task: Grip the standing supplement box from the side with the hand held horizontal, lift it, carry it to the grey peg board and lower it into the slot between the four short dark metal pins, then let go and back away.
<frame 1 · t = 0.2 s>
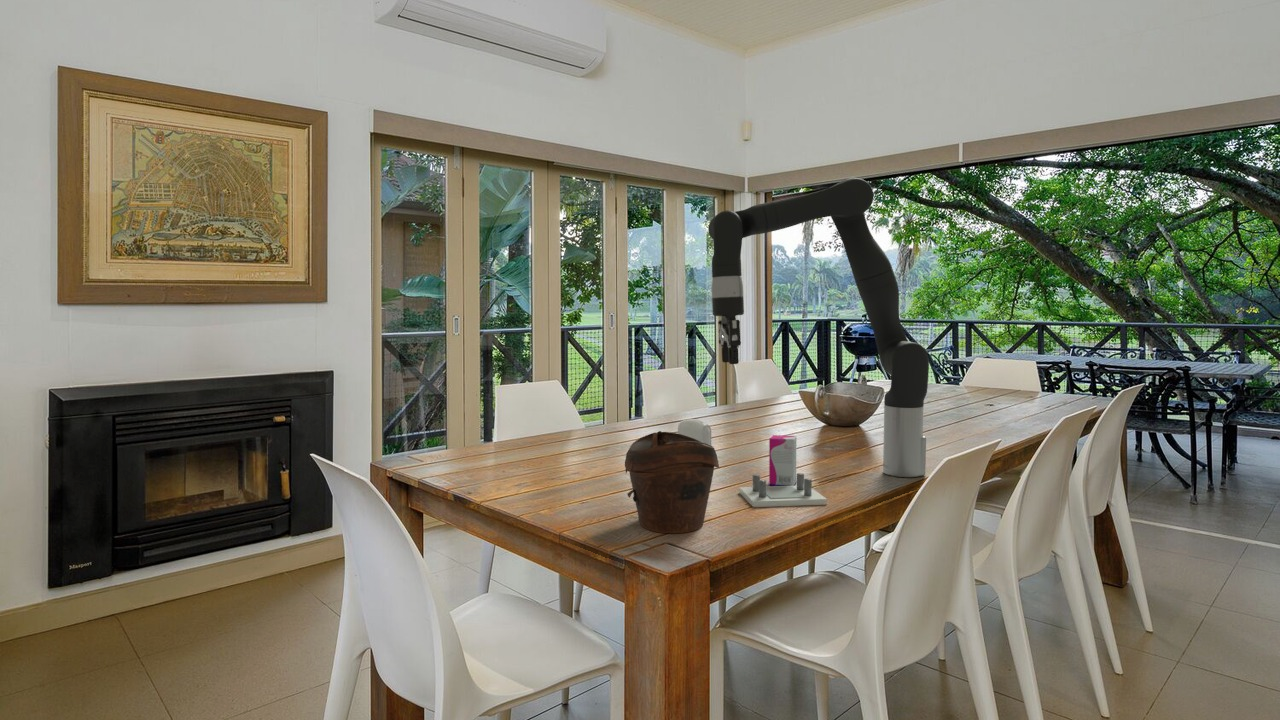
hand: (730, 363, 175), 28 cm above the table, tool pointing down, fingers open, 8 cm apart
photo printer: (694, 466, 192), on the table
supplement box: (782, 485, 171), on the table
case: (670, 524, 141), on the table
grey peg board: (781, 498, 159), on the table
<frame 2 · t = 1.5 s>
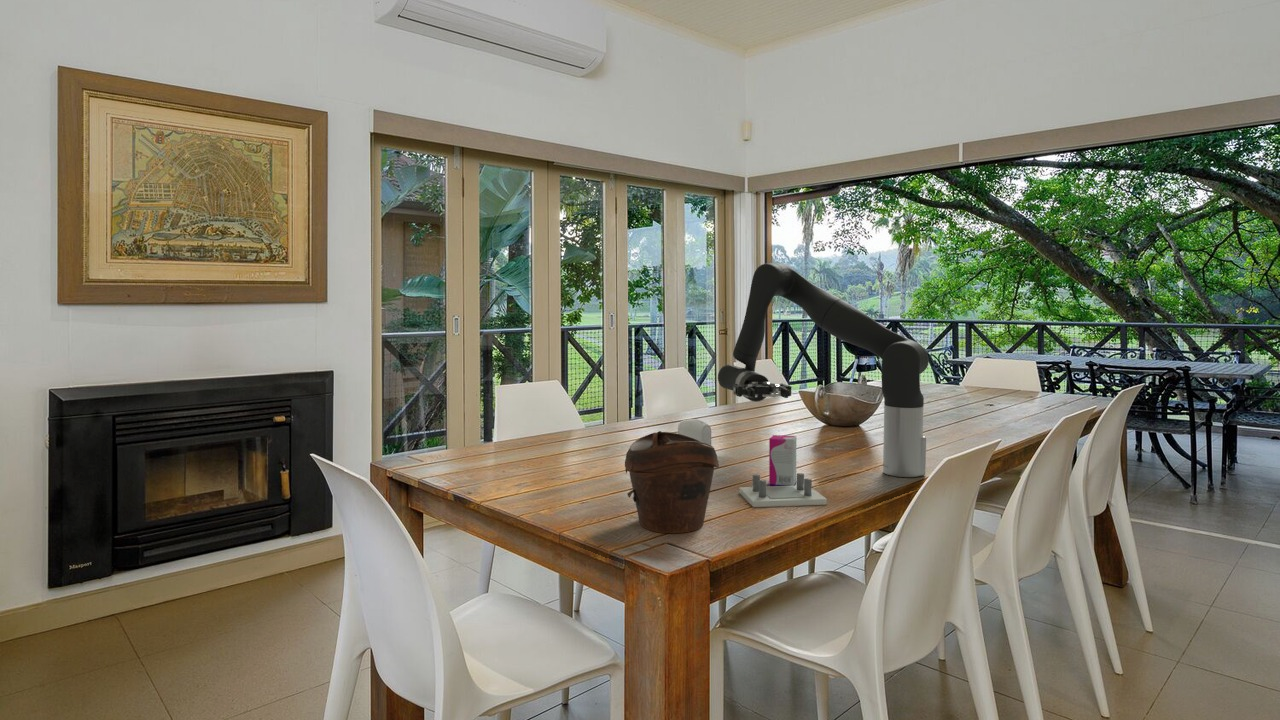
hand: (770, 394, 180), 20 cm above the table, tool horizontal, fingers open, 8 cm apart
nothing on the table moved.
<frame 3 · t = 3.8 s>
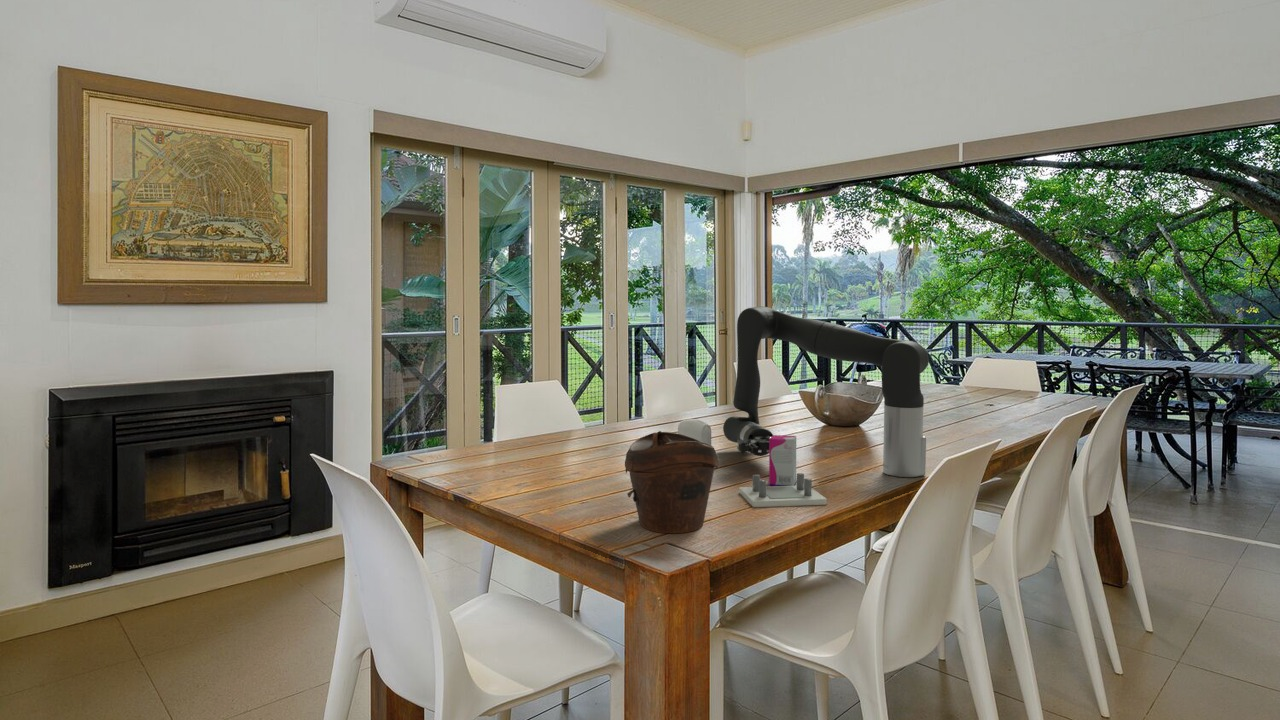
hand: (773, 450, 178), 6 cm above the table, tool horizontal, fingers open, 8 cm apart
nothing on the table moved.
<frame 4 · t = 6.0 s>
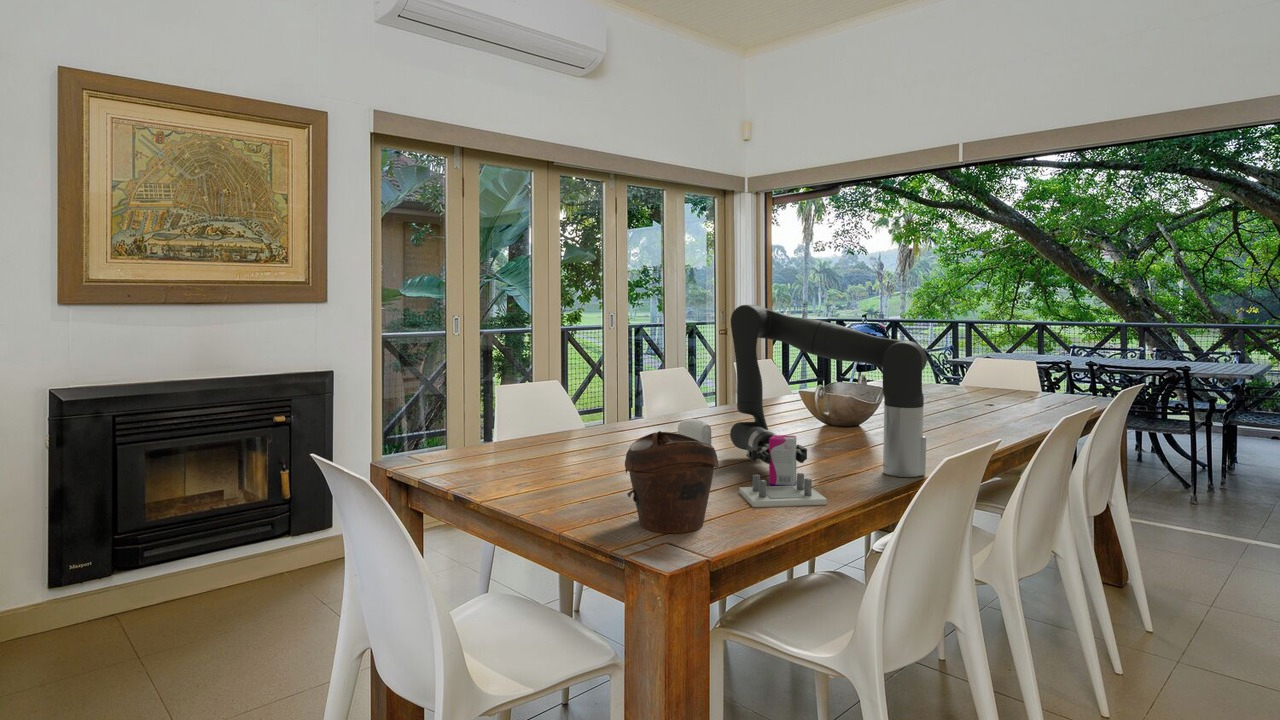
hand: (785, 459, 169), 7 cm above the table, tool horizontal, fingers closed on supplement box, 7 cm apart
supplement box: (782, 485, 171), on the table, touching gripper
everything else where it was.
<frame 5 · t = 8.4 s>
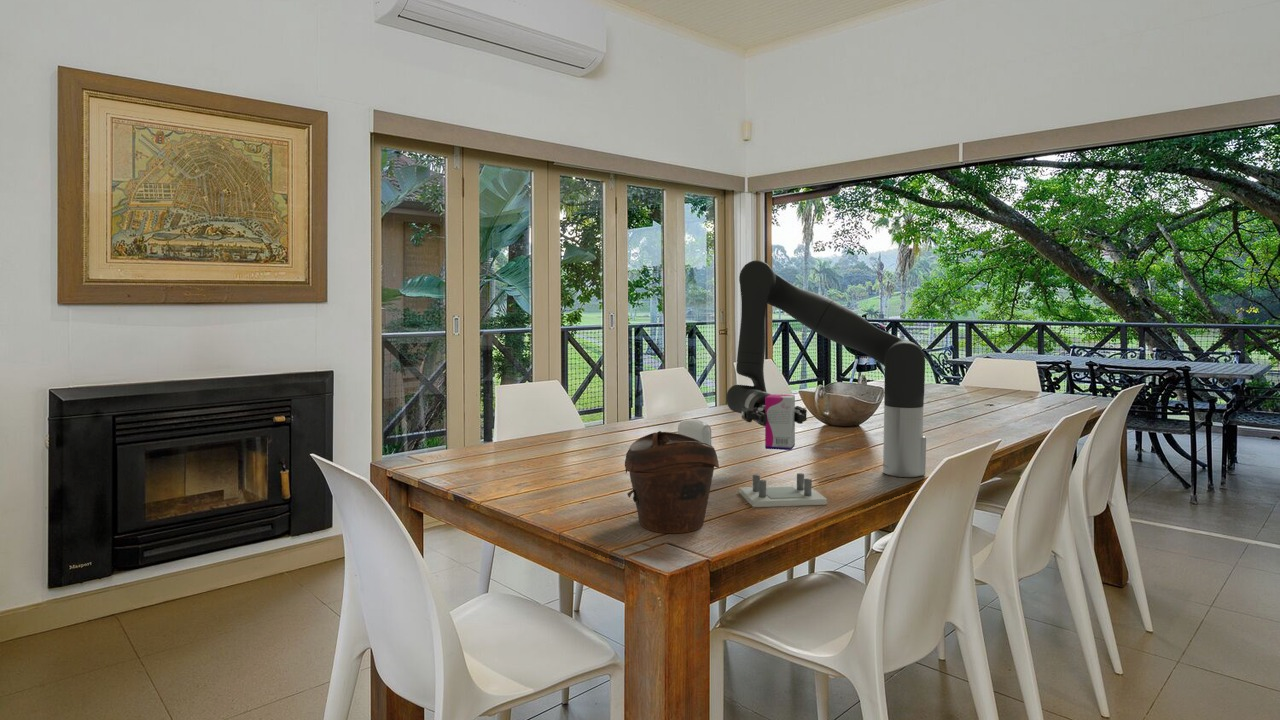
hand: (783, 419, 157), 18 cm above the table, tool horizontal, fingers closed on supplement box, 7 cm apart
supplement box: (780, 448, 159), point 11 cm above the table, touching gripper
everything else where it was.
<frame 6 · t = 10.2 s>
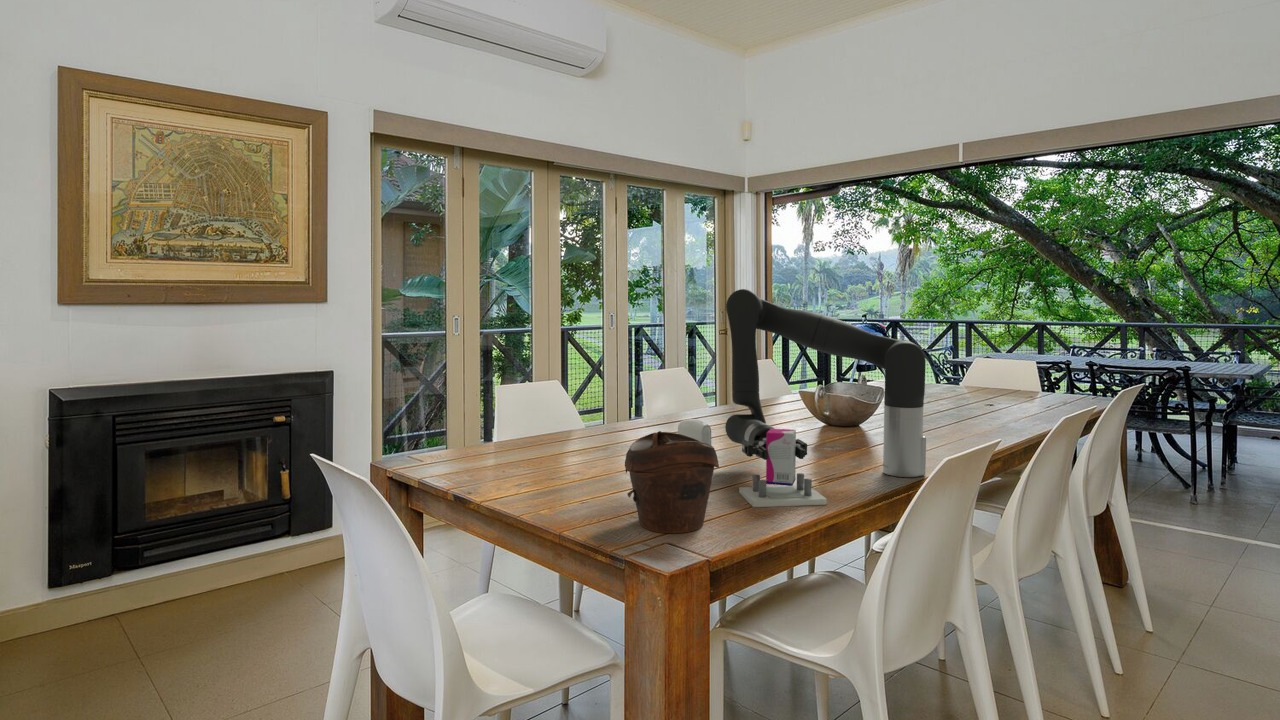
hand: (784, 454, 156), 10 cm above the table, tool horizontal, fingers closed on supplement box, 7 cm apart
supplement box: (780, 482, 159), point 3 cm above the table, touching gripper
everything else where it was.
when the fingers open (9 cm above the table, at t = 11.2 s): supplement box stays where it is, resting on grey peg board.
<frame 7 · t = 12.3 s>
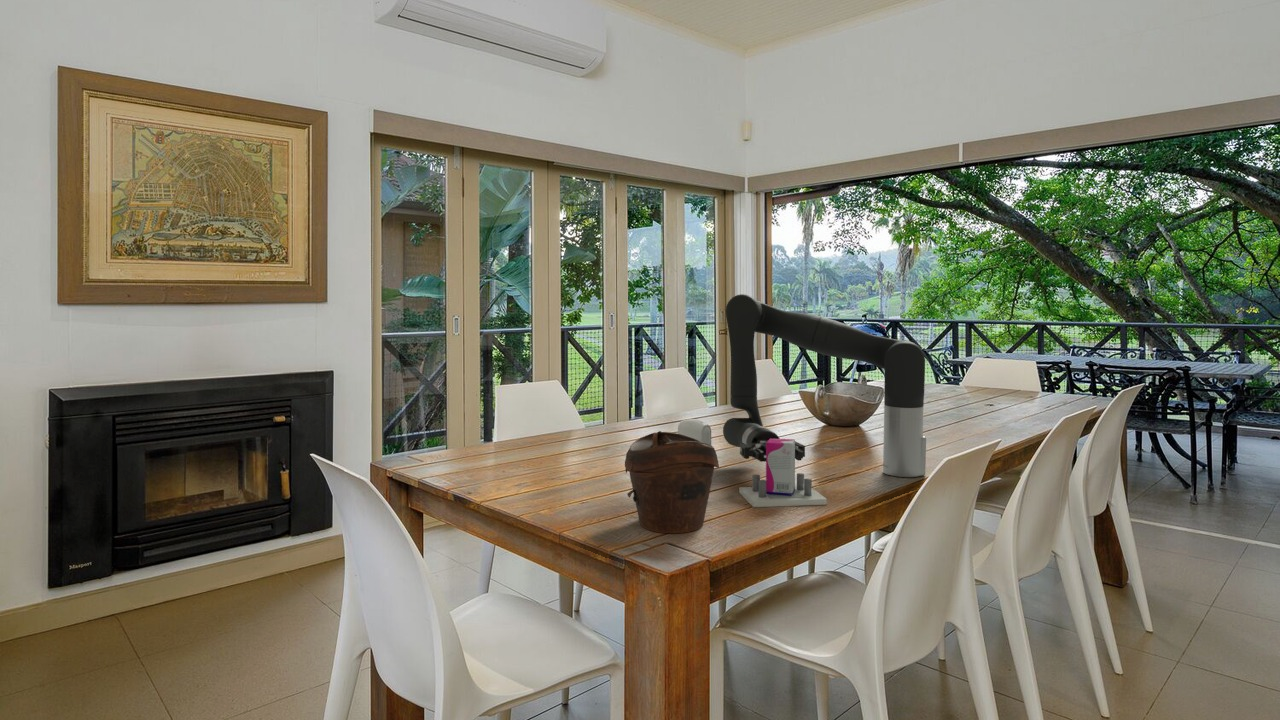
hand: (781, 456, 159), 9 cm above the table, tool horizontal, fingers open, 8 cm apart
supplement box: (780, 492, 159), point 1 cm above the table, touching grey peg board
everything else where it was.
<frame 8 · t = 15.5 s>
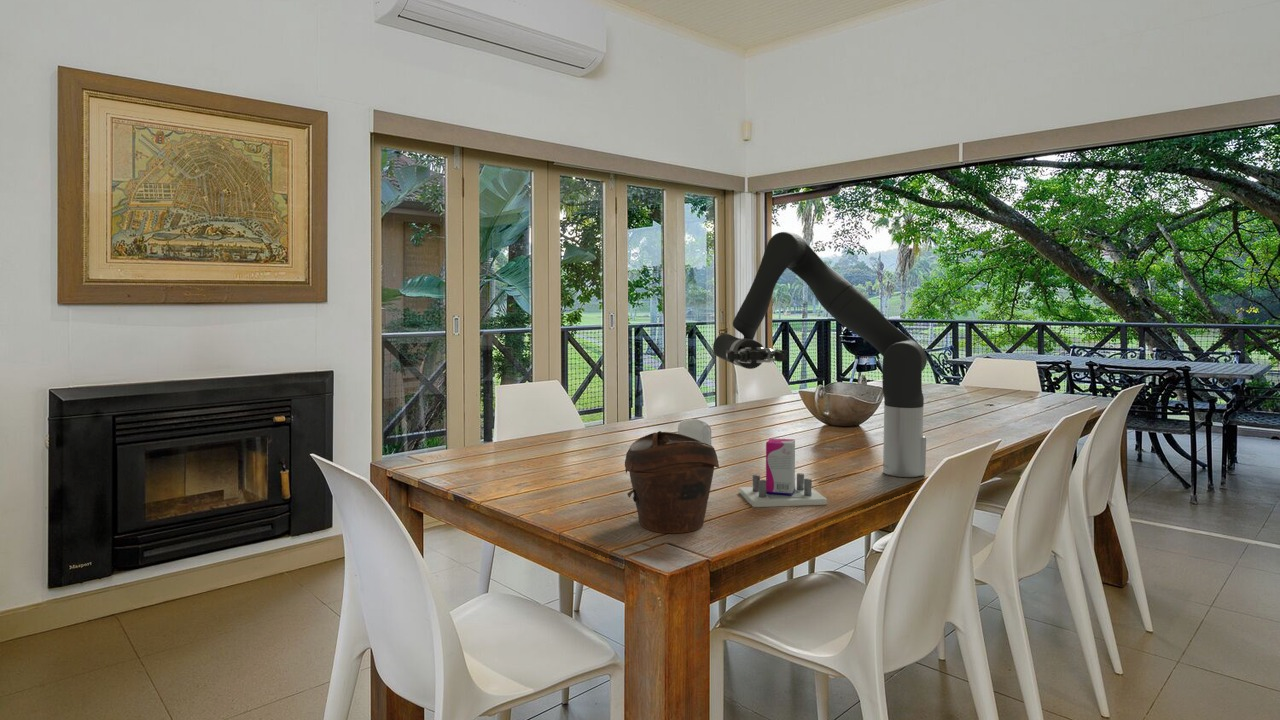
hand: (763, 357, 172), 30 cm above the table, tool horizontal, fingers open, 8 cm apart
nothing on the table moved.
at the end: supplement box 0.2 cm off-centre on the grey peg board, point 1.2 cm above the grey peg board's base; supplement box tilted 0°; the gripper is holding nothing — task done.
